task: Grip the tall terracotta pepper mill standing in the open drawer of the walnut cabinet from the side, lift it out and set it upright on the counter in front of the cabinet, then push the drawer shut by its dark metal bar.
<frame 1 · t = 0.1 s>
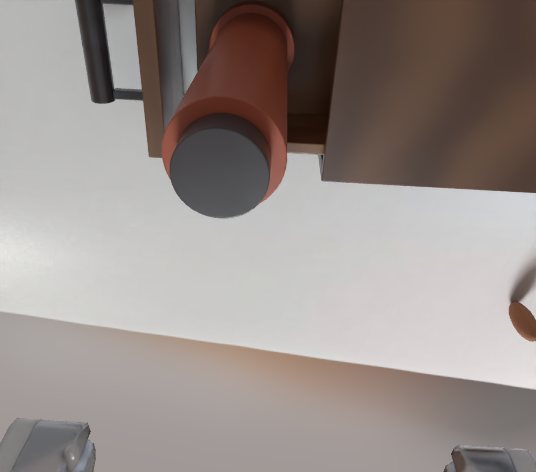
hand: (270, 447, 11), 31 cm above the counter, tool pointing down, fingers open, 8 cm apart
pepper mill: (253, 46, 34), point 2 cm above the counter, touching drawer
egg: (512, 302, 49), on the counter
drawer: (228, 52, 32), point 4 cm above the counter, slide at 10.5 cm, touching pepper mill
cabinet: (431, 49, 35), on the counter
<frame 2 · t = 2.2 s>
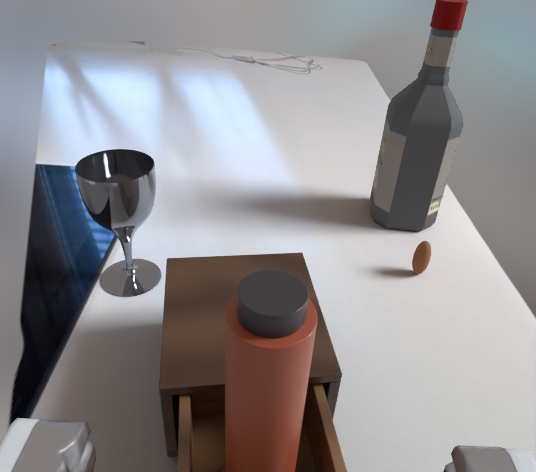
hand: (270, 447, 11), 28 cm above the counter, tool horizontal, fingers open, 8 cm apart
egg: (416, 274, 62), on the counter
wine glass: (131, 278, 58), on the counter
cabinet: (241, 374, 47), on the counter
liquor: (399, 216, 74), on the counter
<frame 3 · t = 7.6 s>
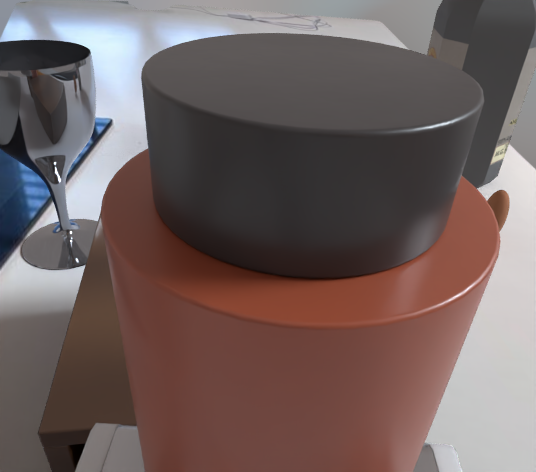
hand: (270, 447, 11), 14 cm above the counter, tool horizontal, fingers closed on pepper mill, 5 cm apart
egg: (484, 241, 43), on the counter
wine glass: (69, 244, 40), on the counter
cabinet: (227, 390, 28), on the counter
liquor: (447, 170, 55), on the counter
when the fingers open (11 cm above the counter, at t = 17.2 s): pepper mill stays where it is, on the counter.
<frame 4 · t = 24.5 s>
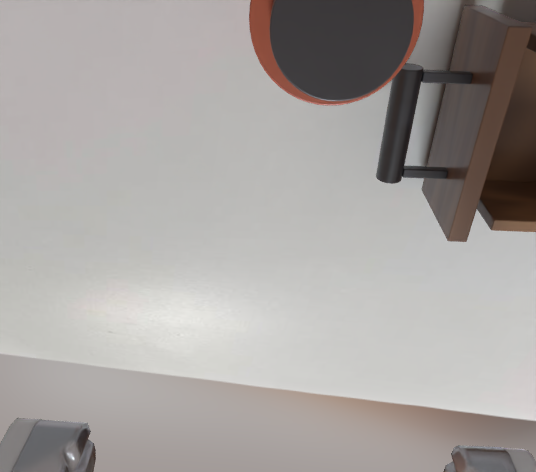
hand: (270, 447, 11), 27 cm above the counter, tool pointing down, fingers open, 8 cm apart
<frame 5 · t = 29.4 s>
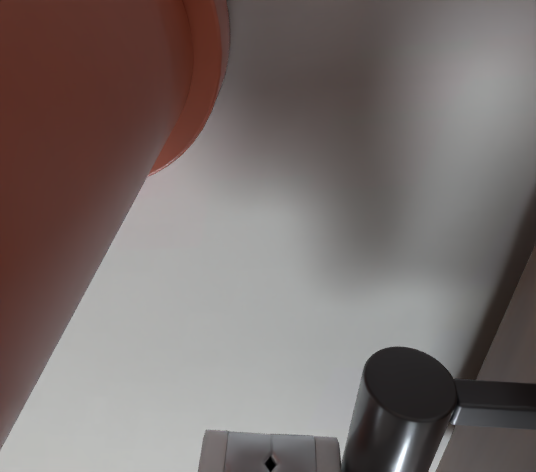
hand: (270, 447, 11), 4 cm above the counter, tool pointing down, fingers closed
pepper mill: (88, 27, 10), on the counter
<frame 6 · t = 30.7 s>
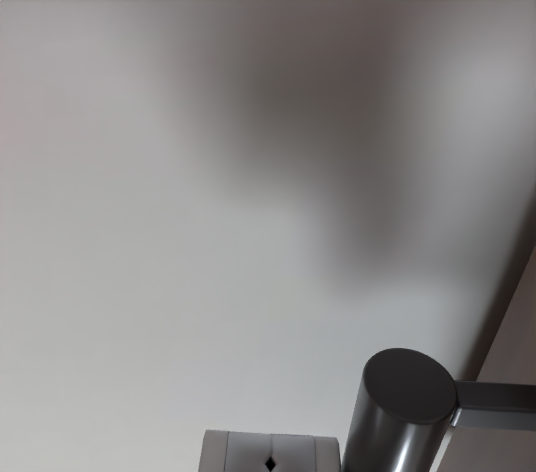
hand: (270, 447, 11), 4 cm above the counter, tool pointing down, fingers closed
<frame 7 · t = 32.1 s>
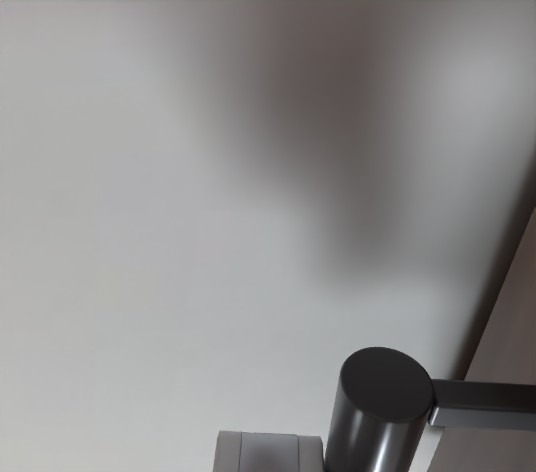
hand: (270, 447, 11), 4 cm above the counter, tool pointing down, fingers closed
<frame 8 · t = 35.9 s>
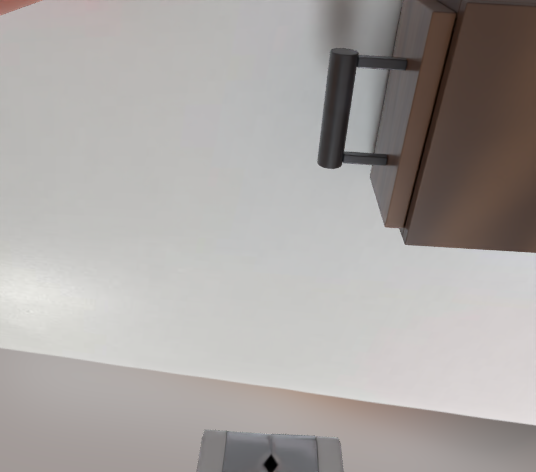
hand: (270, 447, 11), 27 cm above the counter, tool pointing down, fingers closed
drawer: (476, 117, 29), point 4 cm above the counter, slide at 0.0 cm, touching cabinet
cabinet: (514, 98, 33), on the counter
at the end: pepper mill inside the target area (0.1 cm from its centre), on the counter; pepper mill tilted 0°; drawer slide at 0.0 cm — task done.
